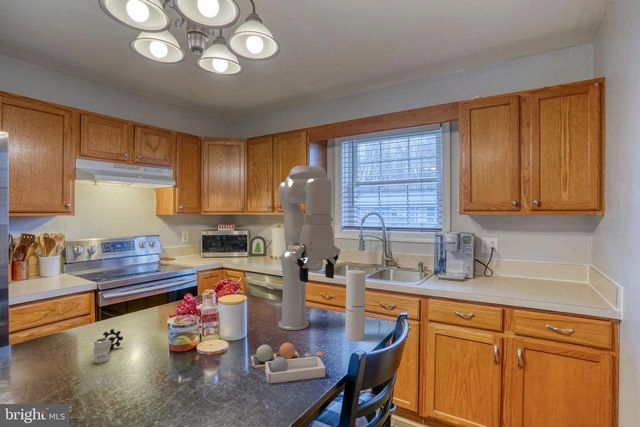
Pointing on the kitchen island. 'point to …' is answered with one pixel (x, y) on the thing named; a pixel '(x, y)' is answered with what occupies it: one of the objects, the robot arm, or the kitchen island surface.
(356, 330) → the cylindrical container
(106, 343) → the valve
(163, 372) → the kitchen island surface
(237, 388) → the kitchen island surface
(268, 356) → the ball sage
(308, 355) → the card
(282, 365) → the ball slate
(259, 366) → the tray
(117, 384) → the kitchen island surface
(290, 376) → the trough
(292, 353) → the ball terracotta
